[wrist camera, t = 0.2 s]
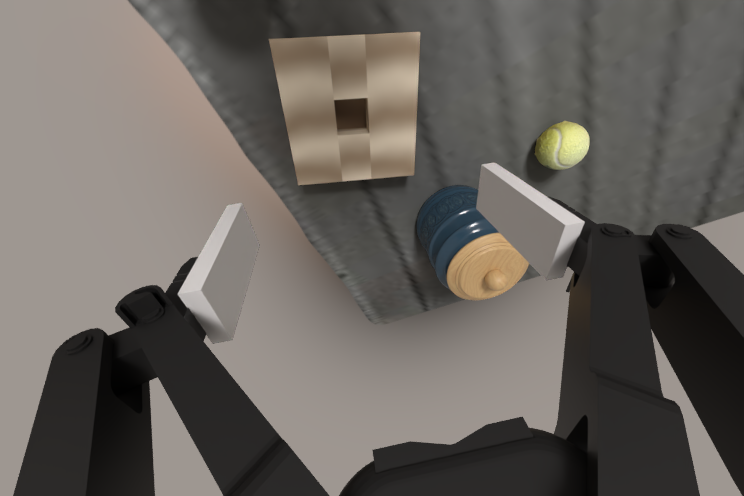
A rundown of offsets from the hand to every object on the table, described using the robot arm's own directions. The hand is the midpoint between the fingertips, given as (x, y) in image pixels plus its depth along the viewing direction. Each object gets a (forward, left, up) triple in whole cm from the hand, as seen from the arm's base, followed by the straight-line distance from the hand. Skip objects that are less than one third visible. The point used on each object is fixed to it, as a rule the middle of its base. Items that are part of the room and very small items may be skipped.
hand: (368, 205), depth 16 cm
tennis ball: (+6, +31, -28) cm, 42 cm away
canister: (+18, +17, -27) cm, 37 cm away
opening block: (0, +1, -27) cm, 27 cm away
